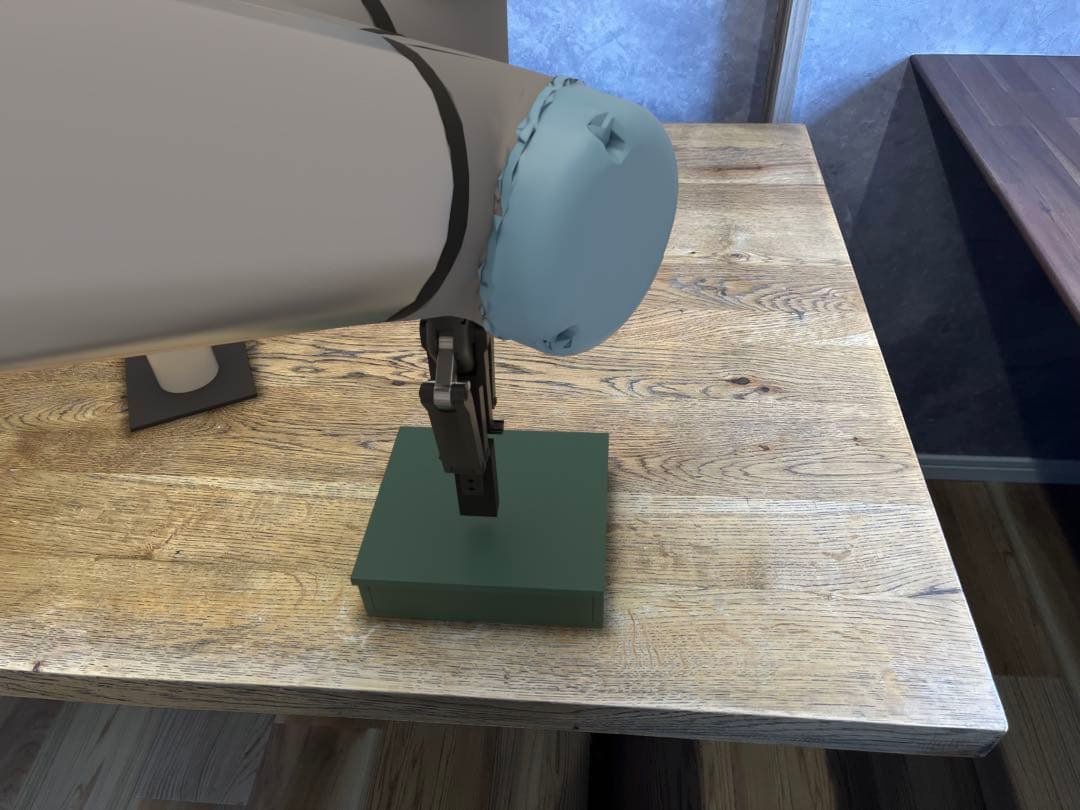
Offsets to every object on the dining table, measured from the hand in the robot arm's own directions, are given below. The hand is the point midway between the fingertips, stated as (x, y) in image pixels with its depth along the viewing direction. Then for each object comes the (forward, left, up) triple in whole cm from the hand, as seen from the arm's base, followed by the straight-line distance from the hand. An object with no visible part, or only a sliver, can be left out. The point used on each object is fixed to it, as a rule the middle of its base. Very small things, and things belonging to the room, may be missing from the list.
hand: (479, 508), depth 60 cm
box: (+3, +2, -8) cm, 9 cm away
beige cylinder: (-1, +41, -8) cm, 41 cm away
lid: (+3, +1, -3) cm, 4 cm away
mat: (-1, +41, -8) cm, 41 cm away
